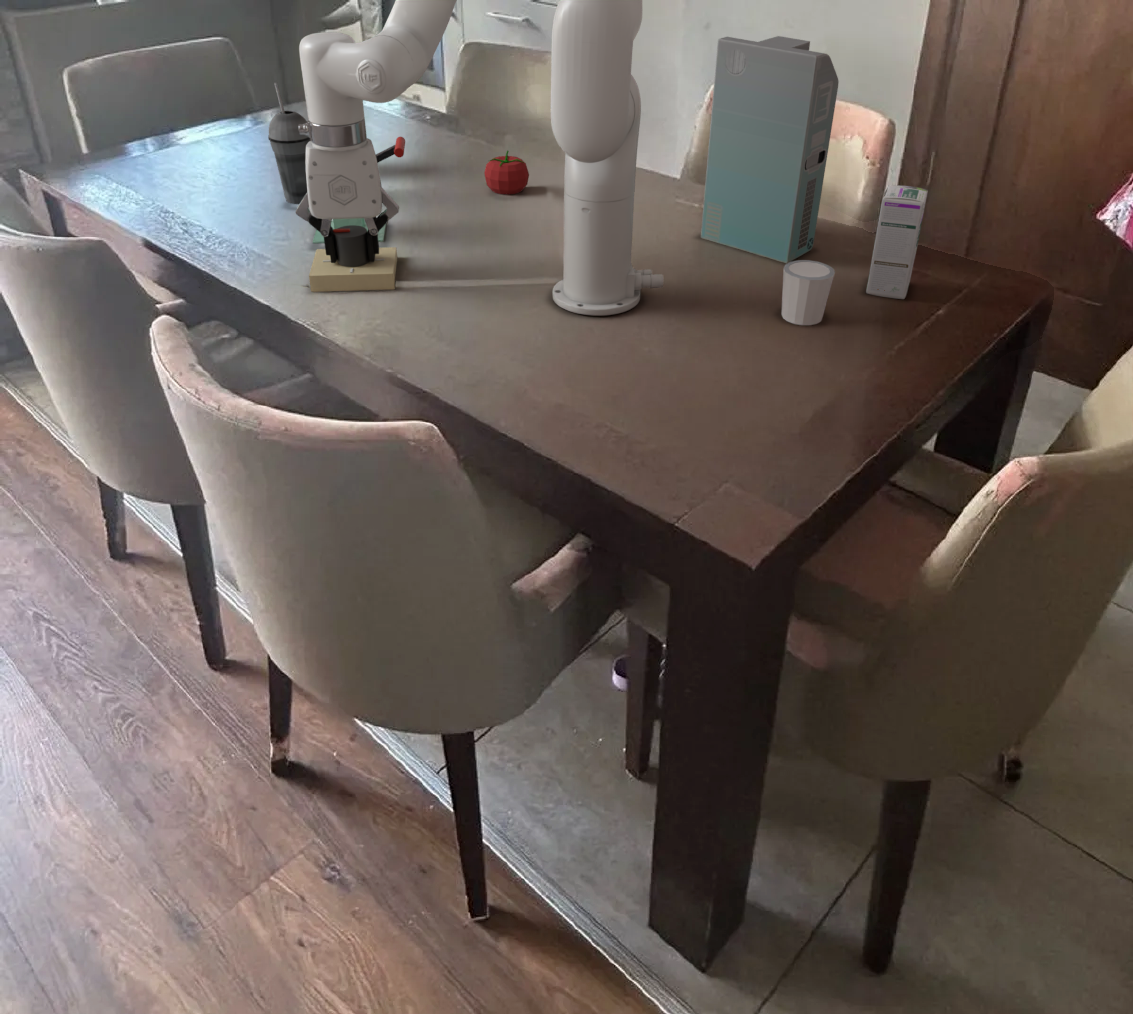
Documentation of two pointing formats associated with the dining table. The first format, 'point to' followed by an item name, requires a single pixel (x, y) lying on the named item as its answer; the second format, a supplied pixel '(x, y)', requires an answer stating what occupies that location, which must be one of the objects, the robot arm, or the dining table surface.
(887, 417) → the dining table surface
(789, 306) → the shot glass
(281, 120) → the beverage cup
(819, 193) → the device
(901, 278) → the syrup box
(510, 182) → the tomato
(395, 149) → the lever
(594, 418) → the dining table surface
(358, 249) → the knob
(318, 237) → the bracket
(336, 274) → the panel
